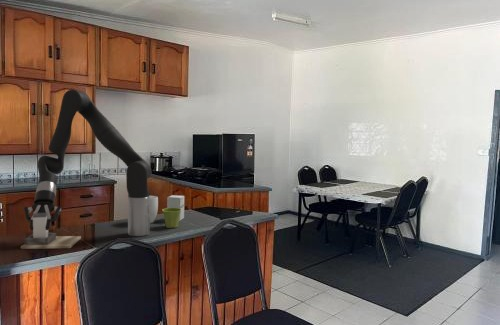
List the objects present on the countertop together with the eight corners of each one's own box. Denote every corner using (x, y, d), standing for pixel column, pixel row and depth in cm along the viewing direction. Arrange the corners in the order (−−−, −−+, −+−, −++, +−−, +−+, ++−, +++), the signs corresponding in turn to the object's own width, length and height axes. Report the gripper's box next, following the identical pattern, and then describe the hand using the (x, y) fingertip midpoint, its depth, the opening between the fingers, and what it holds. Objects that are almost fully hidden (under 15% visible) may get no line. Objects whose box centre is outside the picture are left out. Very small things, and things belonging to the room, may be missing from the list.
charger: (48, 236, 155) (47, 212, 155) (45, 239, 151) (45, 214, 150) (35, 236, 154) (35, 212, 153) (33, 239, 150) (32, 215, 149)
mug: (140, 227, 184) (141, 200, 183) (125, 224, 190) (125, 198, 189) (162, 221, 197) (162, 196, 196) (146, 218, 203) (146, 194, 202)
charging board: (80, 238, 162) (80, 230, 162) (69, 248, 149) (69, 239, 148) (36, 238, 160) (36, 230, 160) (20, 248, 146) (20, 239, 146)
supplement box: (179, 221, 199) (180, 197, 198) (166, 220, 200) (166, 196, 199) (184, 218, 206) (184, 195, 205) (171, 217, 207) (171, 194, 206)
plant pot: (175, 230, 181) (175, 212, 181) (158, 227, 184) (158, 210, 184) (184, 225, 190) (185, 208, 189) (168, 223, 193) (168, 207, 192)
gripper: (25, 189, 156) (17, 225, 145) (63, 189, 160) (58, 223, 150) (28, 199, 161) (21, 235, 151) (65, 199, 166) (60, 233, 155)
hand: (39, 229), depth 150 cm, fingers closed on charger, 4 cm apart
